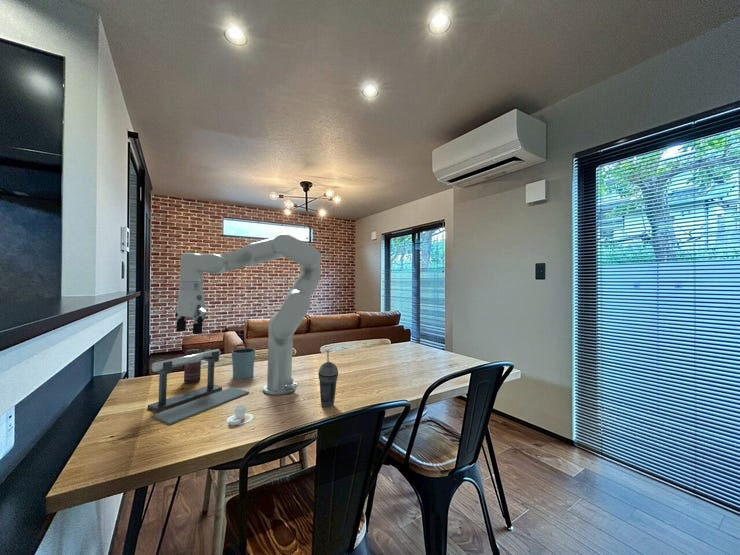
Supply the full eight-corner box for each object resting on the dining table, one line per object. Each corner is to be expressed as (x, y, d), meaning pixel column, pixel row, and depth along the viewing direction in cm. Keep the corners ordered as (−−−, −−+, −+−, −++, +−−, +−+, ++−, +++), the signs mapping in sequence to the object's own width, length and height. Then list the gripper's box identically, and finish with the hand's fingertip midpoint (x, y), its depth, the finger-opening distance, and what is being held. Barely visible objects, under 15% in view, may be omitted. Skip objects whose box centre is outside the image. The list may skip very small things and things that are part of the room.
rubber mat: (249, 393, 119) (249, 391, 119) (169, 424, 92) (169, 423, 92) (231, 388, 123) (231, 387, 123) (151, 417, 96) (151, 415, 96)
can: (193, 384, 126) (194, 351, 126) (180, 383, 128) (181, 350, 128) (204, 380, 132) (205, 348, 132) (191, 378, 134) (192, 347, 134)
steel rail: (215, 356, 123) (215, 348, 124) (220, 357, 122) (220, 349, 122) (151, 371, 102) (151, 362, 102) (156, 372, 101) (156, 363, 101)
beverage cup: (320, 411, 104) (322, 353, 104) (314, 403, 111) (316, 348, 111) (340, 407, 107) (342, 351, 108) (333, 400, 114) (334, 347, 114)
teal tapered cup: (249, 380, 134) (249, 353, 134) (226, 379, 134) (227, 352, 134) (257, 373, 144) (258, 348, 144) (236, 372, 144) (237, 347, 144)
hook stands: (222, 389, 121) (223, 350, 121) (157, 412, 100) (159, 364, 100) (212, 387, 124) (213, 348, 124) (147, 408, 103) (149, 361, 103)
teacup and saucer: (234, 429, 91) (234, 416, 91) (218, 422, 95) (219, 409, 95) (258, 418, 98) (259, 406, 98) (243, 412, 102) (243, 400, 103)
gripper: (215, 287, 112) (213, 333, 112) (186, 285, 120) (184, 328, 119) (196, 287, 105) (193, 336, 105) (167, 285, 113) (164, 331, 113)
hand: (189, 332), depth 112 cm, fingers open, 9 cm apart
